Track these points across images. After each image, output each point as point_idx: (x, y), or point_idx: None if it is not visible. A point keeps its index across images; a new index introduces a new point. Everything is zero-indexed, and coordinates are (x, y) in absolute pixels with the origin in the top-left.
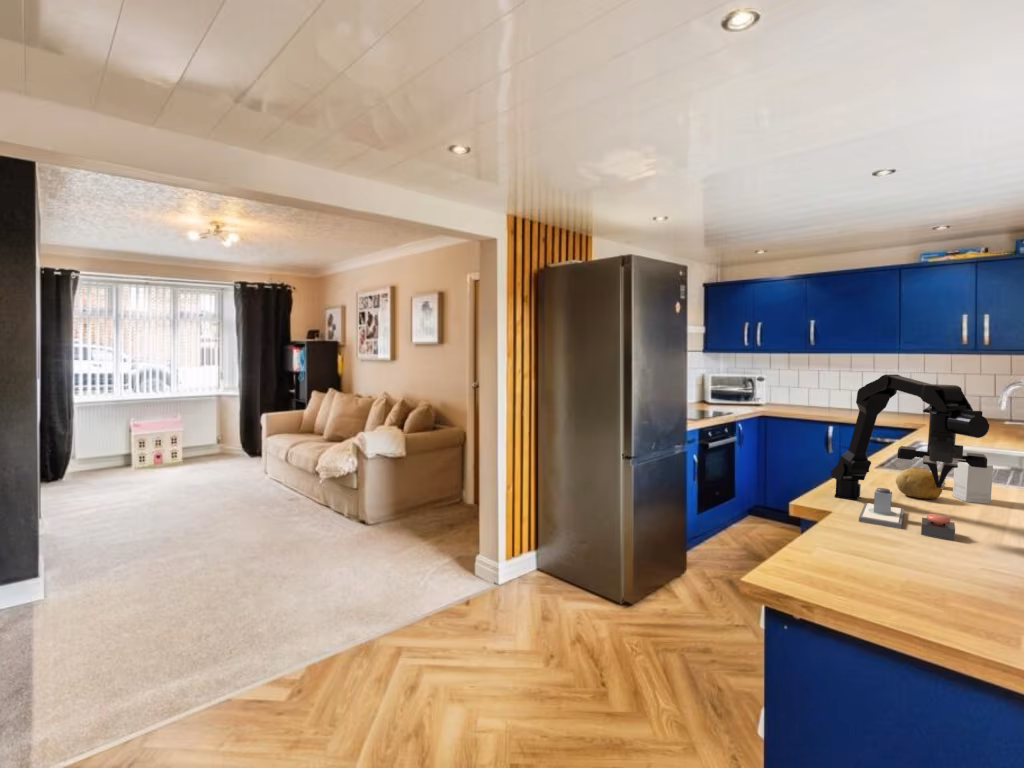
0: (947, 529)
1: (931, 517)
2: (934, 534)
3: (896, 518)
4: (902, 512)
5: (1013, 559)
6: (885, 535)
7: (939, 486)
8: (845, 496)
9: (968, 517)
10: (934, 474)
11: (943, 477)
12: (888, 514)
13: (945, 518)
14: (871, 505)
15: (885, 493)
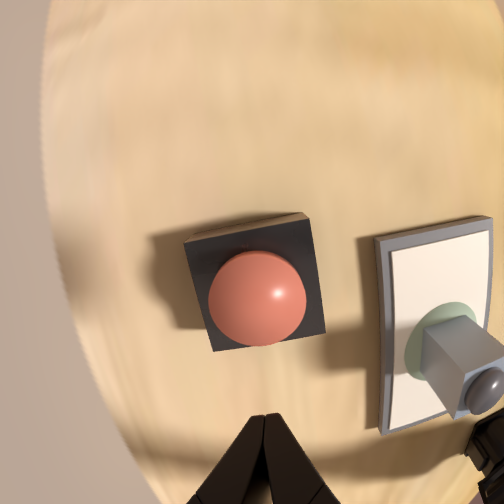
0: (211, 236)
1: (279, 261)
2: (258, 222)
3: (402, 304)
4: (386, 400)
5: (47, 176)
6: (390, 99)
7: (257, 420)
8: (497, 417)
9: None
10: (312, 500)
11: (214, 489)
12: (427, 327)
13: (225, 293)
14: None
15: (481, 371)
